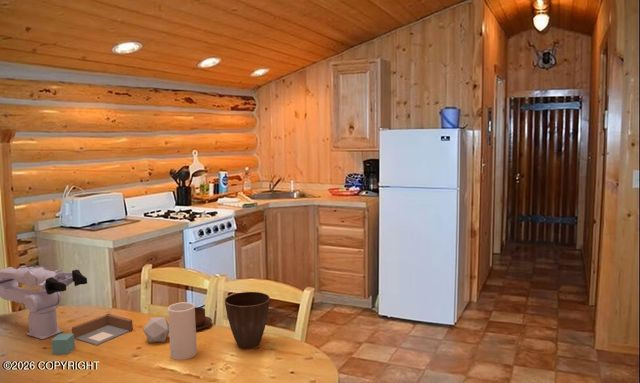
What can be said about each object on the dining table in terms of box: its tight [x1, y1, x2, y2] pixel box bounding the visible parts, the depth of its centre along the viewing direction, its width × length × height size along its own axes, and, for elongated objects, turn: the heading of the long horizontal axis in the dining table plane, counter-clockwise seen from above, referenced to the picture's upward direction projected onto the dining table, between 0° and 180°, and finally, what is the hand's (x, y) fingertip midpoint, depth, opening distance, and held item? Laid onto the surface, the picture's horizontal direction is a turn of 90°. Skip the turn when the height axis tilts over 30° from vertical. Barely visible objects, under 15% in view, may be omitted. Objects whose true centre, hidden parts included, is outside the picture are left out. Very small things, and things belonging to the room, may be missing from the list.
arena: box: [71, 313, 134, 346], centre depth 184 cm, size 13×15×4 cm
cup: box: [167, 301, 198, 361], centre depth 166 cm, size 8×8×16 cm
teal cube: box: [51, 333, 76, 356], centre depth 170 cm, size 5×5×5 cm
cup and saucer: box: [195, 306, 213, 331], centre depth 190 cm, size 12×12×6 cm
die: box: [142, 316, 169, 343], centre depth 178 cm, size 8×9×10 cm
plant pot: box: [224, 291, 271, 350], centre depth 173 cm, size 15×15×16 cm
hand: (75, 284), depth 173 cm, fingers open, 7 cm apart
